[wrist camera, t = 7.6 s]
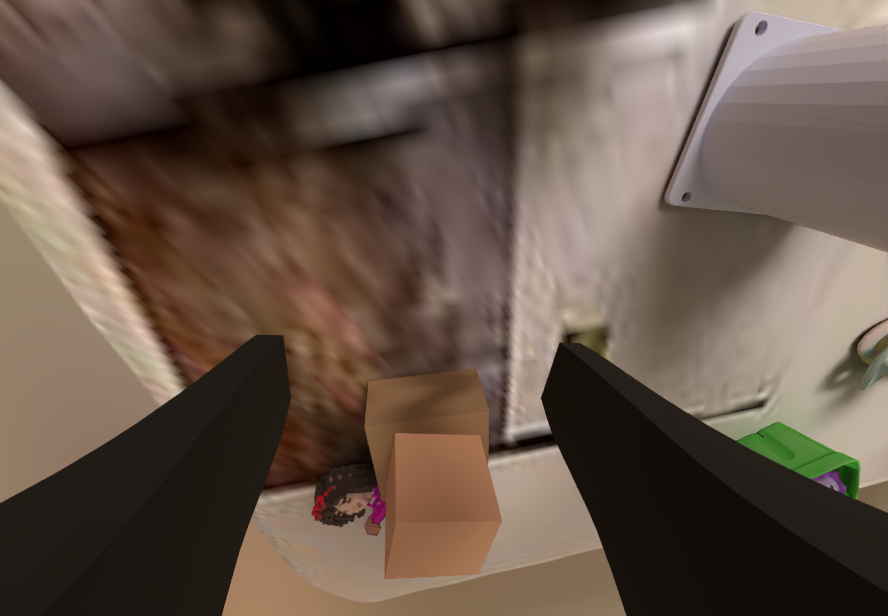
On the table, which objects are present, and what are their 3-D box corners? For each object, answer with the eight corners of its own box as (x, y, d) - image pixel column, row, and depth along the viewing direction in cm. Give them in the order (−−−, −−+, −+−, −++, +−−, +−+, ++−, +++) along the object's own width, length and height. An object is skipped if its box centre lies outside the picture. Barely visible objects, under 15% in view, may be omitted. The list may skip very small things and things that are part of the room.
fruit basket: (793, 404, 30) (986, 553, 20) (799, 457, 34) (962, 600, 24) (662, 465, 32) (780, 625, 22) (684, 507, 36) (791, 657, 26)
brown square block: (475, 365, 24) (489, 411, 20) (475, 437, 27) (487, 485, 24) (368, 378, 23) (364, 427, 20) (383, 449, 27) (381, 501, 23)
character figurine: (474, 445, 29) (318, 450, 25) (495, 508, 25) (313, 525, 21) (454, 487, 32) (310, 497, 28) (471, 550, 28) (305, 572, 24)
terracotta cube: (479, 435, 21) (502, 520, 17) (462, 487, 24) (478, 574, 19) (395, 433, 20) (395, 522, 16) (386, 487, 23) (384, 578, 18)
